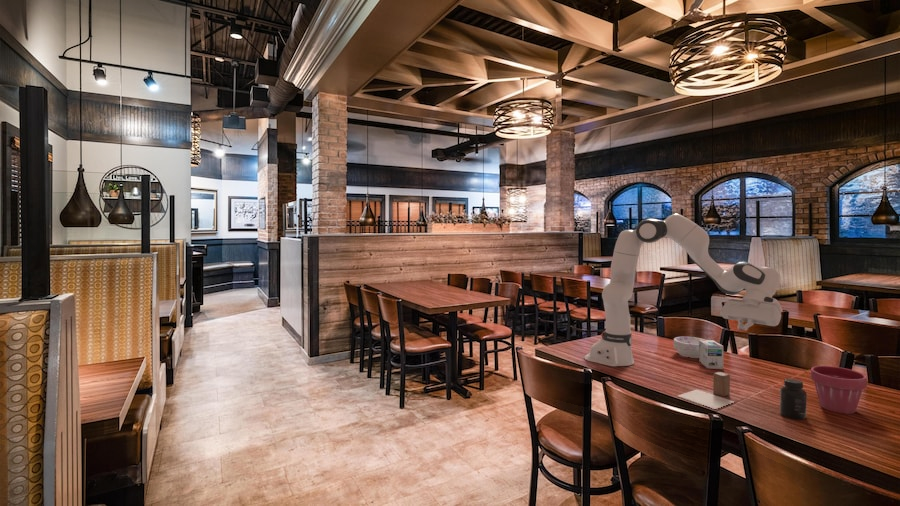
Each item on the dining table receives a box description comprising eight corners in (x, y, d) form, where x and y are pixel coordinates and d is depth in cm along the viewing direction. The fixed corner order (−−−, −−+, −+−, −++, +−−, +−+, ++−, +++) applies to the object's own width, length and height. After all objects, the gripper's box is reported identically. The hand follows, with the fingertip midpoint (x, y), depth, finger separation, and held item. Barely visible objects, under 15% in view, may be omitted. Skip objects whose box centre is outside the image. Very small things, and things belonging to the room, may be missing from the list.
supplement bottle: (774, 412, 143) (774, 377, 142) (793, 410, 143) (793, 376, 143) (792, 421, 136) (793, 384, 135) (812, 419, 137) (812, 383, 136)
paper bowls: (696, 362, 198) (696, 345, 198) (666, 354, 212) (666, 338, 211) (715, 357, 205) (715, 341, 205) (685, 349, 219) (685, 334, 218)
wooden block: (712, 393, 160) (712, 372, 160) (719, 391, 162) (719, 371, 161) (723, 397, 157) (723, 376, 156) (730, 395, 158) (730, 374, 158)
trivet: (696, 390, 163) (696, 389, 163) (734, 402, 151) (735, 401, 151) (677, 396, 158) (677, 395, 158) (715, 410, 146) (715, 408, 146)
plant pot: (852, 420, 135) (853, 381, 135) (801, 404, 148) (802, 369, 148) (874, 412, 141) (875, 374, 140) (824, 397, 154) (824, 363, 153)
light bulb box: (724, 369, 187) (724, 345, 186) (707, 368, 188) (707, 345, 188) (714, 362, 197) (714, 339, 197) (698, 361, 199) (698, 339, 198)
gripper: (725, 294, 176) (711, 319, 172) (781, 300, 158) (767, 329, 154) (731, 303, 179) (717, 329, 175) (787, 310, 160) (773, 339, 156)
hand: (741, 329), depth 164 cm, fingers closed
